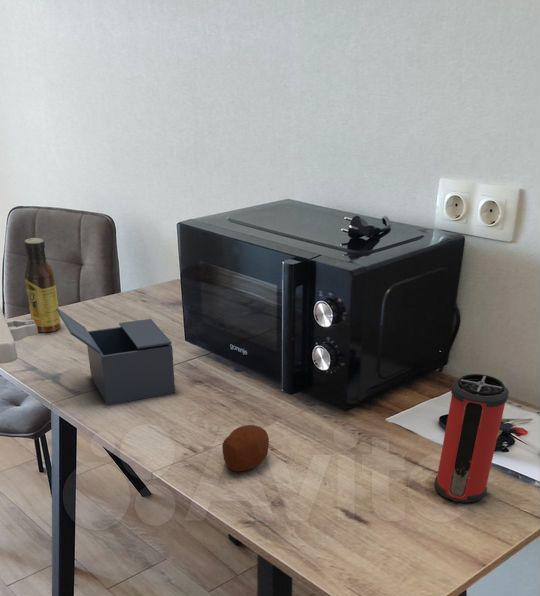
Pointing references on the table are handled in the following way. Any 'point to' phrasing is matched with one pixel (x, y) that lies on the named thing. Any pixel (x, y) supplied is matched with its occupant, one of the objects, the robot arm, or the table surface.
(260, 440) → the potato
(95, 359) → the carton
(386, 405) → the table surface
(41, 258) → the sauce bottle
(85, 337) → the flap
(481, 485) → the speaker
